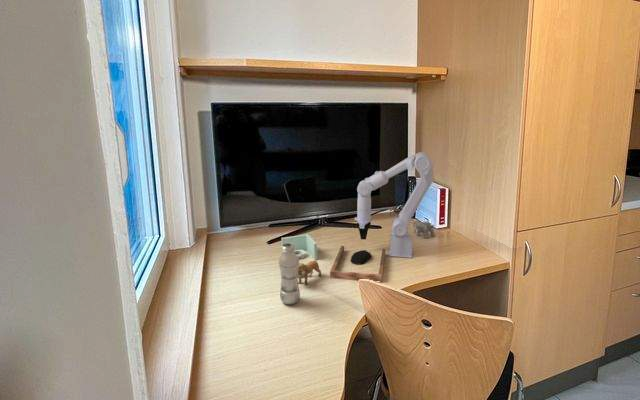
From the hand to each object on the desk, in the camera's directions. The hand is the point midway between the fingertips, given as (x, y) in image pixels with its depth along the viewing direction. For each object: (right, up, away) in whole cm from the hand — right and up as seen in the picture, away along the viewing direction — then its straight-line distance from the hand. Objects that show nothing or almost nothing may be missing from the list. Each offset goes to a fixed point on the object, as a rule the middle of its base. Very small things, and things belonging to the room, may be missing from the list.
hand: (363, 238), depth 154 cm
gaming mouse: (-1, -8, -5) cm, 9 cm away
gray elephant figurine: (+31, -1, +17) cm, 35 cm away
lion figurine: (-23, -13, -24) cm, 36 cm away
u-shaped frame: (-3, -9, -11) cm, 15 cm away
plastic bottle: (-29, -17, -37) cm, 50 cm away
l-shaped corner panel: (-28, -8, -2) cm, 29 cm away
